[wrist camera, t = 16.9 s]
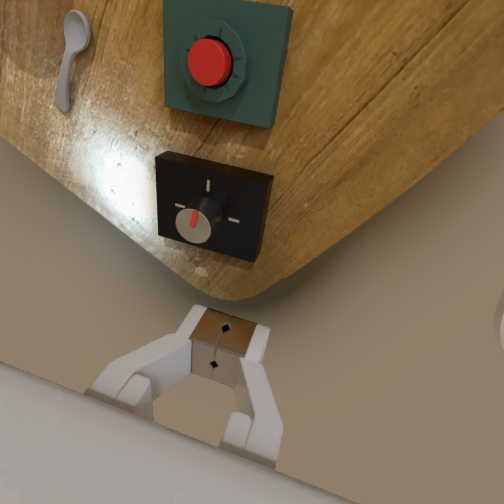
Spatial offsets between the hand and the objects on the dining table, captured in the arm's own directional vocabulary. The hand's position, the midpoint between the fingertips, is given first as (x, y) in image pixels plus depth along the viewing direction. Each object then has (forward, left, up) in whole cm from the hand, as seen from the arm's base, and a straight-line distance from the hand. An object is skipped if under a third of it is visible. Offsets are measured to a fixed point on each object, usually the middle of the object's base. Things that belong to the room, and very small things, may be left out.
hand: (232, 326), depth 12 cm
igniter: (+11, -7, -27) cm, 30 cm away
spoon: (+30, -4, -27) cm, 41 cm away
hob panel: (+11, +9, -27) cm, 31 cm away
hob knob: (+11, +9, -24) cm, 28 cm away
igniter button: (+11, -7, -24) cm, 27 cm away
